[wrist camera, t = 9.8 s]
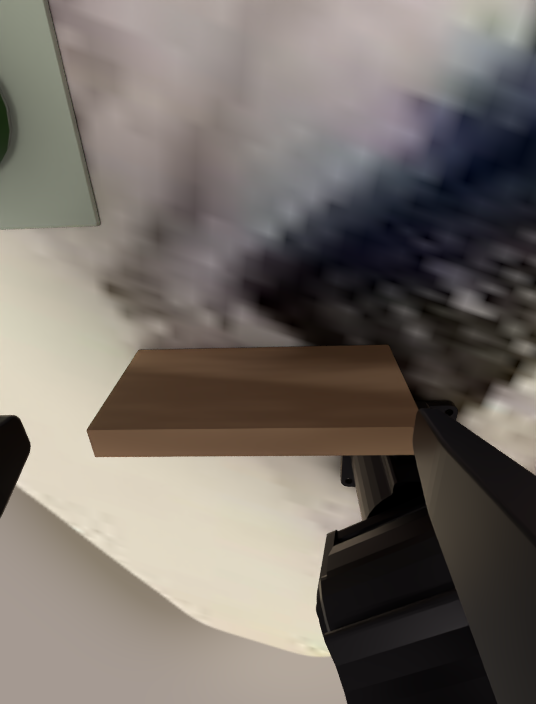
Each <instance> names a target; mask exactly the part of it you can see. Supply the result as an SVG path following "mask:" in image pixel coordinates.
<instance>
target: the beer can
mask: <svg viewBox="0 0 536 704" xmlns="http://www.w3.org/2000/svg"><path fill="white" fill-rule="evenodd" d="M11 135H12V122H11V115H10V109H9V106H8V104H7V102H6V99H5V97H4V94H3V92H2V90H1V88H0V163H1V161H2V159H3V158H4V156H5V154H6V152H7V150H8V148H9V147H10V142H11Z"/></svg>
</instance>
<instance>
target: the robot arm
mask: <svg viewBox="0 0 536 704" xmlns="http://www.w3.org/2000/svg"><path fill="white" fill-rule="evenodd" d="M415 403H416V406H417V408H418V411H417V413H416V418H415V425H414V431H413V438H412V444H413V450H414V455H342V457H341V475H340V477H341V483H342V484H343V485H344V486H347V487H356V491H357V496H358V501H359V506H360V512H361V517H362V521H361V522H359V523H356V524H354V525H352V526H349V527H347V528H345V529H342V530H340V531H337V530H335V531H333V532H330V533H328V534H327V537H326V543H325V549H324V555H323V561H322V567H321V572H320V578H319V584H318V590H317V605H316V612H317V616H318V618H319V623H320V627H321V630H322V634H323V637H324V640H325V643H326V645H327V648H328V650H329V652H330V654H331V657H332V659H333V661H334V663H335V666H336V668H337V671H338V674H339V677H340V680H341V683H342V686H343V689H344V692H345V696H346V700H347V704H536V476H535V475H534V474H533V473H531V472H530V471H528V470H527V469H525V468H524V467H522V466H521V465H519V464H518V463H517V462H515V461H514V460H512V459H511V458H509V457H508V456H506V455H505V454H504V453H502V452H501V451H499V450H498V449H496V448H495V447H493V446H492V445H490V444H489V443H488V442H486V441H485V440H483V439H482V438H480V437H479V436H477V435H476V434H474V433H473V432H472V431H470V430H469V429H467V428H466V427H464V426H463V425H461V424H460V423H458V422H457V421H456V418H457V414H458V410H457V408H456V406H455V405H454V403H452V402H424V401H419V402H415ZM448 409H450V411H448V412H445V411H446V410H448ZM30 447H31V446H30V441H29V439H28V436H27V434H26V432H25V429H24V427H23V425H22V422H21V420H20V419H19V418H18V417H17V416H15V415H0V518H1V516H2V514H3V512H4V510H5V508H6V506H7V503H8V501H9V499H10V496H11V494H12V492H13V490H14V488H15V485H16V483H17V481H18V478H19V476H20V474H21V472H22V469H23V467H24V465H25V462H26V460H27V458H28V456H29V453H30ZM348 478H350V479H348Z"/></svg>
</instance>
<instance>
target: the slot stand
mask: <svg viewBox="0 0 536 704" xmlns="http://www.w3.org/2000/svg"><path fill="white" fill-rule="evenodd" d="M417 411H418V408H417V406H416V403H415V401H414V399H413V397H412V395H411V393H410V390H409V388H408V386H407V384H406V382H405V380H404V377H403V375H402V373H401V371H400V369H399V367H398V364H397V362H396V360H395V358H394V356H393V354H392V351H391V349H390V347H389V345H352V346H304V347H257V348H209V349H162V350H138V352H137V353H136V355H135V356H134V358H133V359H132V361H131V363H130V364H129V366H128V367H127V369H126V370H125V372H124V373H123V375H122V376H121V378H120V379H119V381H118V382H117V384H116V386H115V387H114V389H113V390H112V392H111V393H110V395H109V396H108V398H107V399H106V401H105V402H104V404H103V406H102V407H101V409H100V410H99V412H98V413H97V415H96V416H95V418H94V419H93V421H92V422H91V424H90V425H89V427H88V429H87V433H88V436H89V439H90V442H91V446H92V449H93V452H94V455H95V457H173V456H329V455H414V450H413V444H412V438H413V431H414V425H415V418H416V413H417Z"/></svg>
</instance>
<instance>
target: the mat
mask: <svg viewBox="0 0 536 704" xmlns="http://www.w3.org/2000/svg"><path fill="white" fill-rule="evenodd" d="M0 88H1V90H2V92H3V94H4V97H5V99H6V102H7V104H8V106H9V109H10V115H11V122H12V135H11V142H10V147H9V148H8V150H7V152H6V154H5V156H4V158H3V159H2V161H1V163H0V230H6V229H32V228H58V227H84V226H98V225H100V221H99V217H98V212H97V208H96V204H95V200H94V195H93V191H92V187H91V183H90V179H89V174H88V170H87V166H86V162H85V157H84V153H83V149H82V145H81V140H80V136H79V132H78V128H77V124H76V119H75V115H74V111H73V107H72V102H71V98H70V94H69V90H68V85H67V81H66V77H65V73H64V68H63V64H62V60H61V56H60V52H59V47H58V43H57V39H56V35H55V30H54V26H53V22H52V18H51V13H50V9H49V5H48V1H47V0H0Z"/></svg>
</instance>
